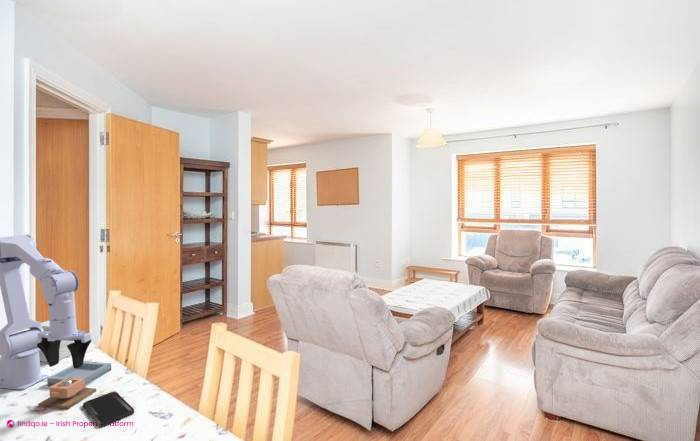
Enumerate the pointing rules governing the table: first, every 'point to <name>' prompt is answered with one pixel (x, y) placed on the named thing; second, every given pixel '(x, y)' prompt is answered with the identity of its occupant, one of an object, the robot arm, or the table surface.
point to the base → (66, 404)
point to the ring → (67, 388)
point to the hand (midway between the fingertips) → (66, 365)
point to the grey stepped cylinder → (66, 383)
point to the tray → (81, 372)
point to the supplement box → (63, 345)
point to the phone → (108, 409)
